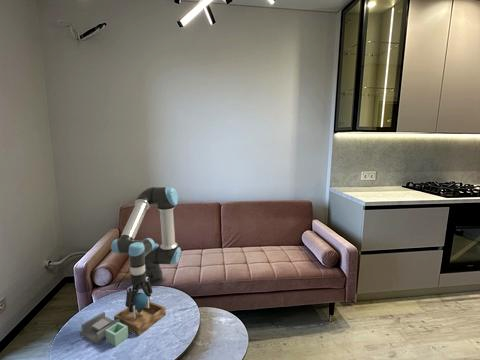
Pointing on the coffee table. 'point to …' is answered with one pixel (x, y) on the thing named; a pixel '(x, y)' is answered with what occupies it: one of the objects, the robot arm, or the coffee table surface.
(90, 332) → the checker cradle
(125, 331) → the cup
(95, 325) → the checker plate
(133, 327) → the tray
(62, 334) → the coffee table surface
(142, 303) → the light bulb
